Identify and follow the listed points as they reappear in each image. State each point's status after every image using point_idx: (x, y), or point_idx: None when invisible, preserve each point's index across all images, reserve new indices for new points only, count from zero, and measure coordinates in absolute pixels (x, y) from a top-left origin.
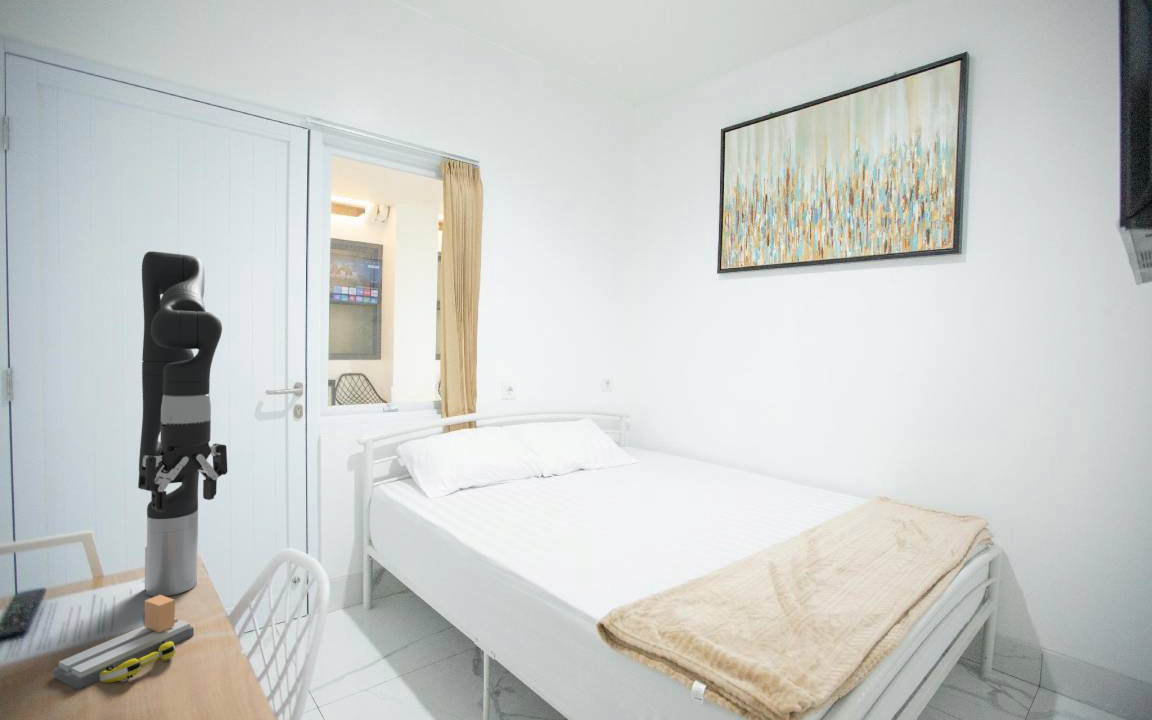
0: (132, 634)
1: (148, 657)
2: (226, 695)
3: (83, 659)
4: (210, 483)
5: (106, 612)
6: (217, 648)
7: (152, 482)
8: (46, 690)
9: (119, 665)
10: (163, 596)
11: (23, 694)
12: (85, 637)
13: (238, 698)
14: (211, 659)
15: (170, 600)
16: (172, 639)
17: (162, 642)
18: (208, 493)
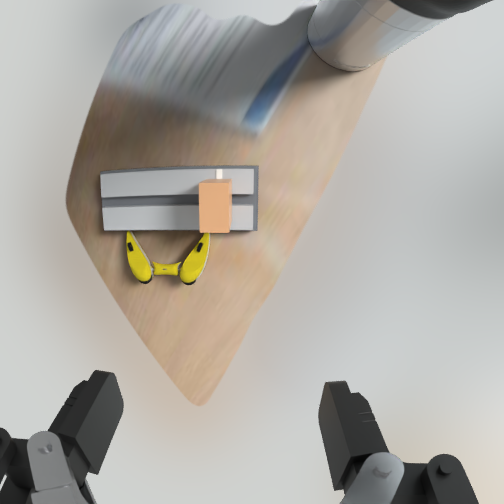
0: (186, 182)
1: (164, 274)
2: (194, 377)
3: (118, 196)
4: (332, 480)
5: (238, 28)
6: (249, 292)
7: (27, 499)
8: (92, 195)
9: (131, 267)
10: (227, 197)
11: (78, 181)
12: (176, 84)
13: (197, 389)
14: (227, 309)
15: (223, 228)
16: None
17: (197, 248)
18: (325, 428)
